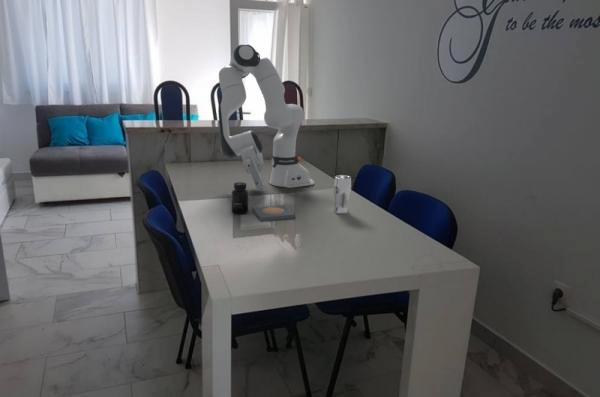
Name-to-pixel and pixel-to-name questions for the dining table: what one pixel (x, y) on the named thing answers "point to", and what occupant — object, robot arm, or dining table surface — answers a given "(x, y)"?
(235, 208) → the supplement bottle
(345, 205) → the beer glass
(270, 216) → the mat
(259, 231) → the dining table surface
